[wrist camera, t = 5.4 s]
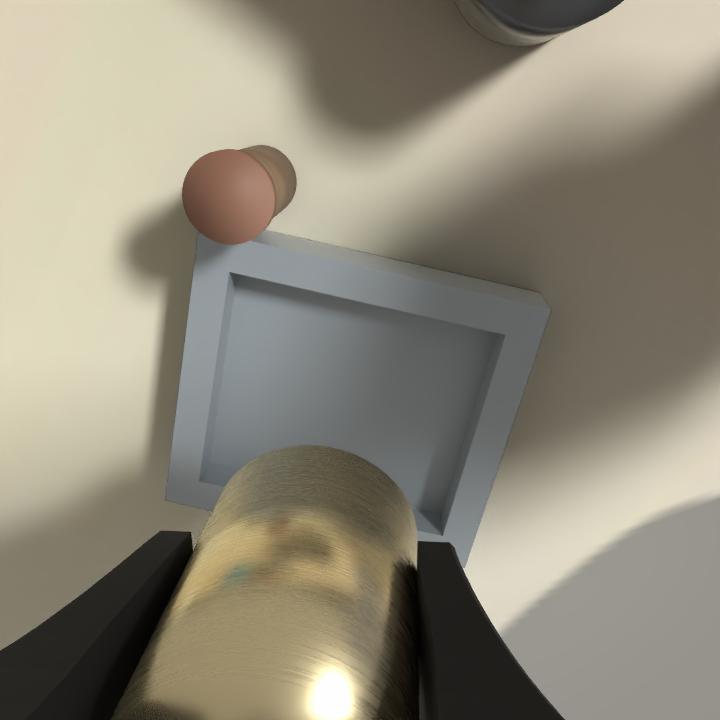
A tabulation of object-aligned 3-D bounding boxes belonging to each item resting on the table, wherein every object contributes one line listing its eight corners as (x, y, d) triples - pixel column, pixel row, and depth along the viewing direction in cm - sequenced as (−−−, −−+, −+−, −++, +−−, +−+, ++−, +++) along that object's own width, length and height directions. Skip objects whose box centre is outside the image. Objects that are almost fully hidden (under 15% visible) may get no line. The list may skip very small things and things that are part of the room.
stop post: (305, 151, 19) (280, 162, 16) (292, 226, 20) (265, 253, 16) (231, 133, 19) (187, 141, 15) (221, 209, 20) (177, 233, 16)
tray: (539, 292, 20) (551, 309, 19) (461, 534, 23) (464, 567, 22) (216, 218, 20) (198, 229, 18) (182, 472, 23) (164, 500, 22)
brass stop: (443, 476, 14) (466, 735, 8) (386, 637, 15) (371, 946, 10) (235, 420, 14) (110, 643, 8) (198, 588, 15) (73, 872, 10)
